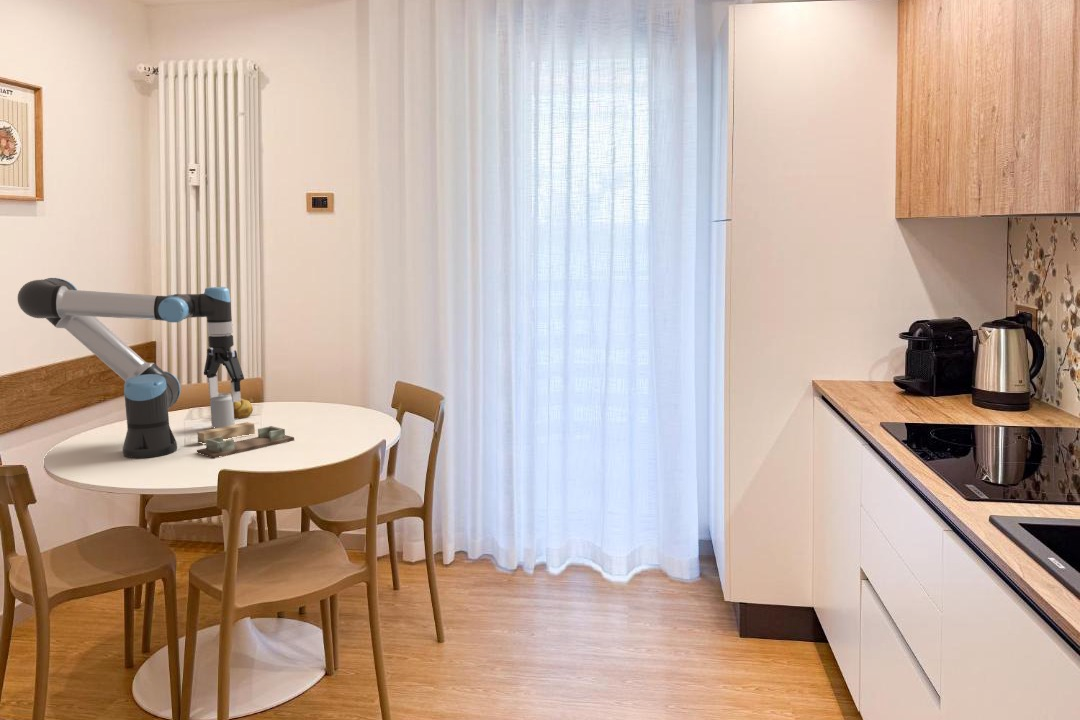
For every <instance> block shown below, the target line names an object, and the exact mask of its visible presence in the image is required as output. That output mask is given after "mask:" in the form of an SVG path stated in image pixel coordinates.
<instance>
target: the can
mask: <svg viewBox="0 0 1080 720" xmlns="http://www.w3.org/2000/svg"><path fill="white" fill-rule="evenodd" d="M209 401H210V402H209V404H210V405H209V406H210V416H211V427H212V428H213V427H215V428H220V427H225V426H231V425H236V424H235V419H234V407H233V402H232V393H231V392H230V393H229V392H221V393H220V392H218V397H212V398H210V400H209Z"/></svg>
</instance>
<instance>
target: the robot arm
mask: <svg viewBox="0 0 1080 720" xmlns="http://www.w3.org/2000/svg"><path fill="white" fill-rule="evenodd" d="M17 303H18V306H19V309H20V310H21V311H22V312H23V313H24V314H26V315H27V316H29V317H31V318H34V319H45V320H47V321H48V322H49V323H51V324H52V326H54V327H55V328H56V329H65V330H66V331H67V332H68V333H70V334H71V336H73V337H74V338H75V339H76V340H77V341H78V342H80V343H81V344H82V345H83V346H85V348H87V350H89V351H90V352H91V353H92V354H94V355H95V356H96V357H97V358H98V359H99V360H100V361H101V362H103V364H105V365H106V366H107V367H109V369H110V370H112V371H113V372H114V373H115V374H116V375H118V376H119V377H120V378H121V379H122V380H123V381H124V385H123V388H124V389H123V395H124V402H125V413H126V414H125V415H126V425H127V427H126V428H127V430H126V435H125V438H124V442H123V445H122V454H123V456H124V457H126V458H132V459H133V458H135V459H142V458H143V459H144V458H145V459H146V458H154V457H159V456H165V455H168V454H172V453H175V452H176V451H177V450H178V443H177V439H176V437H175V435H174V433H173V431H172V429H171V425H170V420H169V419H170V418H169V408H171V407H172V406H174V404H176V402H177V401H178V399H179V398H180V396H181V390H182V387H181V382H180V381H179V379H178V378H177V377H176V376H175V375H174V374H173V373H171V372H168V371H164V370H163V369H161V368H160V367H159V366H158V365H157V364H156V363H155V362H147V361H146V360H144V359H143V358H142V357H141V356H140V355H138V353H136V352H135V351H134V350H133V348H131V347H130V346H129V345H127V343H125V342H124V341H123V340H122V339H121V338H120V337H118V336H117V335H116V334H115V333H114V332H113V331H112V330H110V328H108V327H107V326H106V325H105V324H104V323H103V322H102V321H100V319H98V318H113V319H114V318H115V319H116V318H117V319H133V320H135V319H136V320H148V321H149V320H151V321H162V322H163V321H164V322H168V323H179V322H181V321H183V320H186V319H189V318H191V319H192V318H206V325H207V326H206V327H207V334H208V335H209V336H208V338H207V339H208V346H209V347H208V348H207V349H206V351H207V352H206V361H205V363H204V364H205V365H204V370H203V375H204V376H206V378H208V391H209V392H208V393H209V398H210V399H211V398H212V397H218V393H219V383H218V375H217V374H218V371H219V368H220V365H221V364H222V366H224V367H225V369H226V371H227V373H228V376H229V378H230V379H231V380H230V390H231V392H230V394H231V397H232V402H237V401H241V398H242V395H241V381H243V380H245V376H244V374H243V371H242V367H241V364H240V361H239V359H238V353H237V350H235V349H234V350H231V347H233V346H234V344H235V343H234V335H233V325H234V324H233V320H232V318H233V317H232V316H233V315H232V300H231V296H230V289H229V288H228V287H226V286H216V287H213V286H210V287H205V288H204V293H187V294H186V293H183V294H181V293H180V294H179V293H176V294H175V293H174V294H167V295H154V294H153V295H151V294H139V293H138V294H137V293H124V292H108V291H107V292H106V291H97V290H96V291H93V290H92V291H91V290H79V289H78V288H77V287H76V286H75V285H74V284H73V283H71V282H70V281H68V280H67V279H63V278H60V277H59V278H58V277H48V278H45V279H34V280H30V281H29V282H26V283H25V284H23V285H22V286H21V288H20V289H19V290H18V294H17ZM97 317H98V318H97Z"/></svg>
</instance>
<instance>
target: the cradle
mask: <svg viewBox="0 0 1080 720" xmlns="http://www.w3.org/2000/svg"><path fill="white" fill-rule="evenodd" d="M257 435H258V436H257V437H256V436H255V437H251V438H247V439H243V440H242V439H241V440H238V441H235V439H231V440H226V441H223V437H216V438H211V439H206V445H205V448H199V449H196V453H197V452H198V453H201V454H204V455H203V456H205V455H208V456H211V457H218V458H220V457H219V456H222V457H225V456H226V455H227V456H230V455H236V454H240V453H244V452H249V451H252V450H257V449H262V448H267V447H270V446H274V445H278V444H284V443H288V442H292V441H295V437H294V436H290V435H286V429H285V428H282V427H281V428H280V427H277V426H272V425H269V426H265V427H261V428H257ZM198 453H197V454H198ZM235 453H236V454H235ZM201 454H200V455H201ZM208 456H207V457H208ZM211 457H210V458H211Z"/></svg>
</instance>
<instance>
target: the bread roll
mask: <svg viewBox="0 0 1080 720" xmlns="http://www.w3.org/2000/svg"><path fill="white" fill-rule="evenodd" d="M233 407H234V418H238V419H243V418H244V419H245V418H248V417H250V416H251V414H252V413H253V409H254V408H253V405H252V403H251V402H250V401H249V400H248V399H244V398H242V397H241V401H237V402H233Z"/></svg>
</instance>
